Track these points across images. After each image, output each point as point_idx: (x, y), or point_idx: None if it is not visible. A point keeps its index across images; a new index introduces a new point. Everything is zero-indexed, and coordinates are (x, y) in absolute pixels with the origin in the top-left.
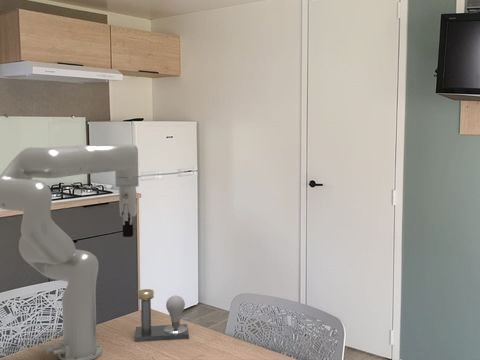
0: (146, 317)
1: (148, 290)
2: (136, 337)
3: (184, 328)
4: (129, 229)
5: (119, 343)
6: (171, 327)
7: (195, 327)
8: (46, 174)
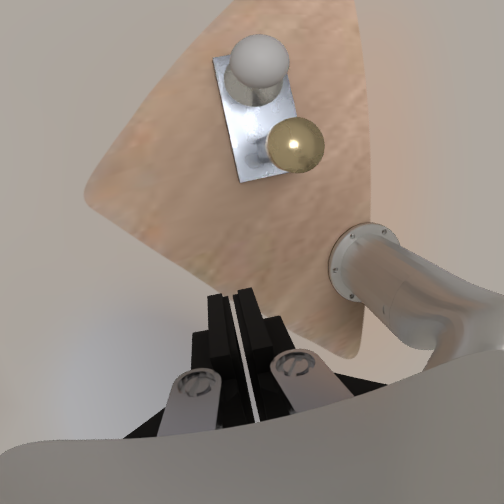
0: None
1: (284, 137)
2: None
3: None
4: (291, 340)
5: (314, 201)
6: (243, 90)
7: (205, 43)
8: None
